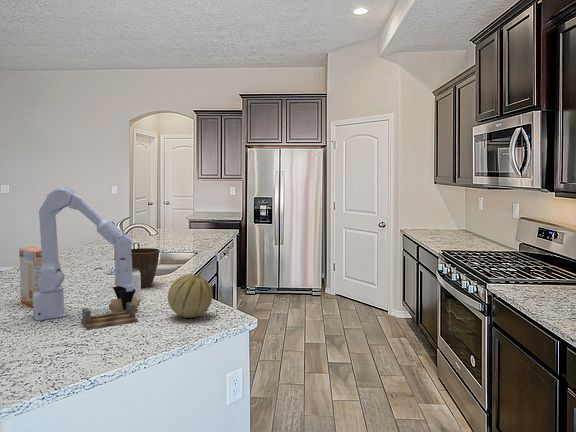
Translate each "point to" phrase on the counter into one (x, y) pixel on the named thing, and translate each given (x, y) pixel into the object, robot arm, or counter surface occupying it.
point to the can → (137, 285)
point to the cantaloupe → (190, 296)
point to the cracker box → (29, 273)
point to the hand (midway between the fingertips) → (124, 307)
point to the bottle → (117, 305)
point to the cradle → (108, 318)
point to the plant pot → (145, 264)
